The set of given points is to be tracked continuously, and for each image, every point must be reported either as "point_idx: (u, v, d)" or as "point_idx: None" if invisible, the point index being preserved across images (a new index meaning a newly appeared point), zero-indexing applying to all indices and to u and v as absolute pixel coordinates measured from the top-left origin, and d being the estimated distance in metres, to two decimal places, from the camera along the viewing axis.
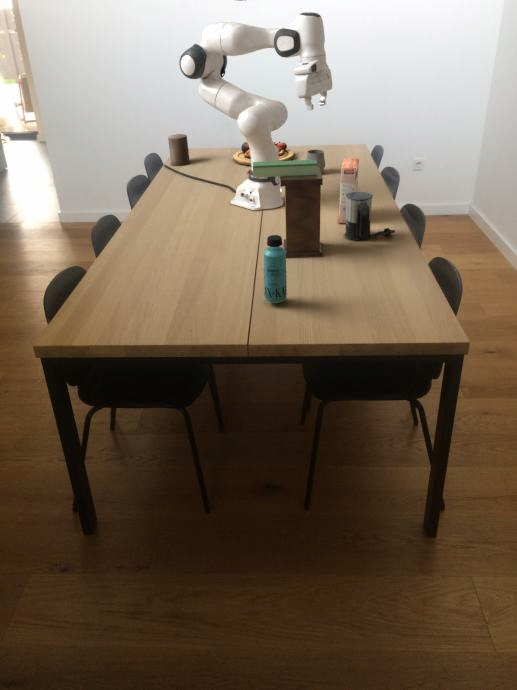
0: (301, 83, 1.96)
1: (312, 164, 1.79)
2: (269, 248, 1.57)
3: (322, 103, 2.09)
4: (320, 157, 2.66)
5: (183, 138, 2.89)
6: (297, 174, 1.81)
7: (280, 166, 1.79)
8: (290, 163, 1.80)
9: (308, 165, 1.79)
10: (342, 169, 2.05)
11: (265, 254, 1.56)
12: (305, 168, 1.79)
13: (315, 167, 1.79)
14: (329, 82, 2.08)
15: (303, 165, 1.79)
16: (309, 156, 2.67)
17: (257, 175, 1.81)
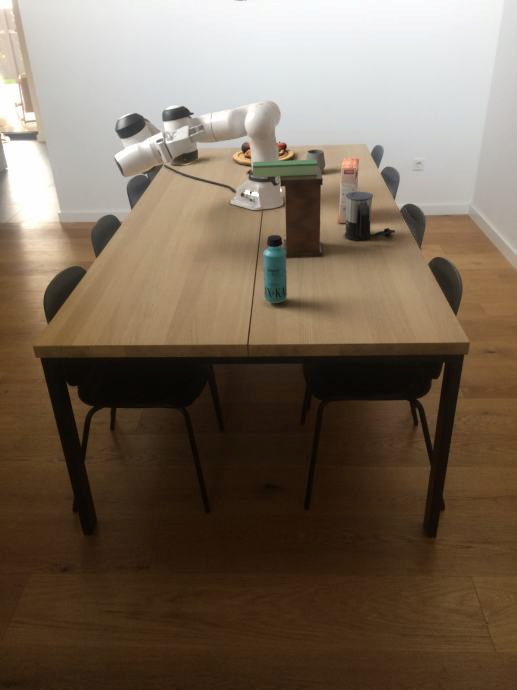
0: (176, 148, 1.72)
1: (312, 164, 1.79)
2: (269, 248, 1.57)
3: (201, 127, 1.83)
4: (320, 157, 2.66)
5: None
6: (297, 174, 1.81)
7: (280, 166, 1.79)
8: (290, 163, 1.80)
9: (308, 165, 1.79)
10: (342, 169, 2.05)
11: (265, 254, 1.56)
12: (305, 168, 1.79)
13: (315, 167, 1.79)
14: (180, 128, 1.86)
15: (303, 165, 1.79)
16: (309, 156, 2.67)
17: (257, 175, 1.81)
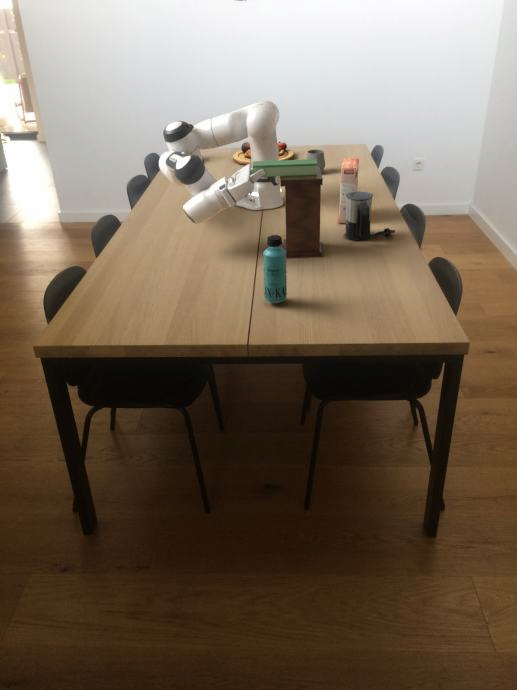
0: (237, 192, 1.76)
1: (312, 164, 1.79)
2: (269, 248, 1.57)
3: None
4: (320, 157, 2.66)
5: None
6: (297, 174, 1.80)
7: (280, 166, 1.79)
8: (290, 163, 1.80)
9: (308, 165, 1.79)
10: (342, 169, 2.05)
11: (265, 254, 1.56)
12: (305, 168, 1.79)
13: (315, 167, 1.79)
14: (243, 168, 1.90)
15: (303, 165, 1.79)
16: (309, 156, 2.67)
17: None
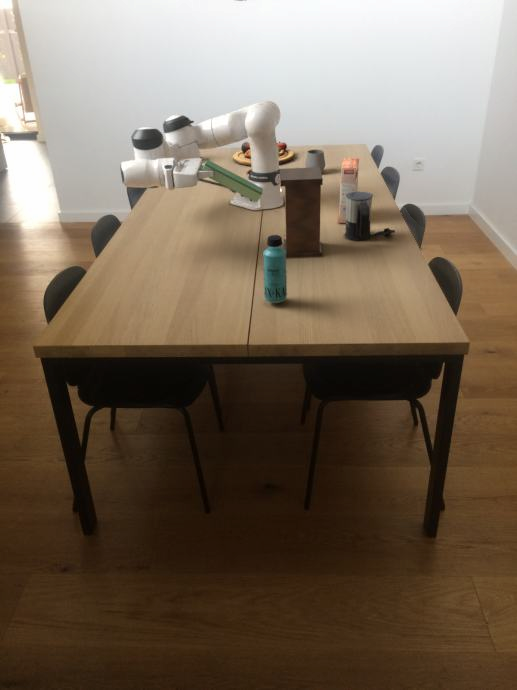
0: (180, 180, 1.75)
1: (257, 191, 1.84)
2: (269, 248, 1.57)
3: None
4: (320, 157, 2.66)
5: None
6: (240, 193, 1.84)
7: (229, 177, 1.81)
8: (239, 180, 1.83)
9: (254, 190, 1.83)
10: (342, 169, 2.05)
11: (265, 254, 1.56)
12: (250, 191, 1.84)
13: (259, 195, 1.84)
14: (193, 159, 1.88)
15: (249, 188, 1.83)
16: (309, 156, 2.67)
17: None
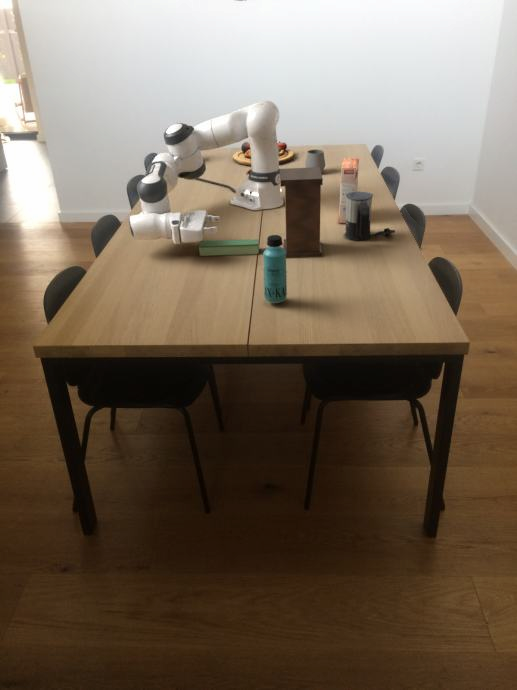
0: (187, 235, 1.84)
1: (253, 245, 1.93)
2: (269, 248, 1.57)
3: (217, 219, 1.95)
4: (320, 157, 2.66)
5: None
6: (240, 253, 1.95)
7: (224, 246, 1.94)
8: (233, 243, 1.94)
9: (250, 245, 1.94)
10: (342, 169, 2.05)
11: (265, 254, 1.56)
12: (247, 248, 1.94)
13: (256, 247, 1.94)
14: (199, 212, 1.98)
15: (245, 245, 1.94)
16: (309, 156, 2.67)
17: (203, 253, 1.96)
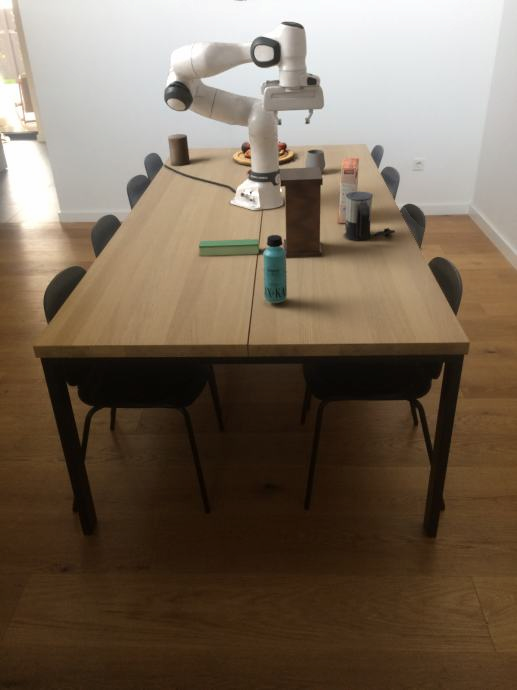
0: None
1: (253, 245, 1.93)
2: (269, 248, 1.57)
3: None
4: (320, 157, 2.66)
5: (183, 138, 2.89)
6: (240, 253, 1.95)
7: (224, 246, 1.94)
8: (233, 243, 1.94)
9: (250, 245, 1.94)
10: (342, 169, 2.05)
11: (265, 254, 1.56)
12: (247, 248, 1.94)
13: (256, 247, 1.94)
14: None
15: (245, 245, 1.94)
16: (309, 156, 2.67)
17: (203, 253, 1.96)
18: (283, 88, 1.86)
